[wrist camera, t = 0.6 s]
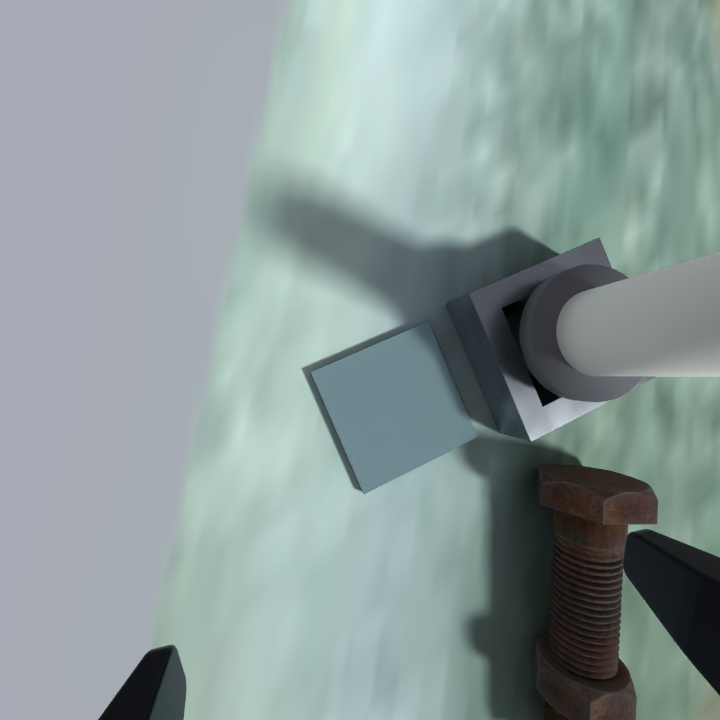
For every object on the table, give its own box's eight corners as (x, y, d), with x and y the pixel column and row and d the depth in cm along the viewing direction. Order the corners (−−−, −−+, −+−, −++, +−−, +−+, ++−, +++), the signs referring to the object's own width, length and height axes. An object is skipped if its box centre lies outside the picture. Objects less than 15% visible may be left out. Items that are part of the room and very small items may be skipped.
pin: (595, 369, 24) (946, 364, 11) (506, 414, 23) (780, 465, 10) (555, 271, 24) (865, 149, 11) (463, 311, 23) (686, 229, 10)
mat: (474, 436, 22) (477, 437, 22) (362, 492, 21) (363, 494, 21) (426, 322, 22) (428, 321, 22) (310, 372, 21) (310, 372, 21)
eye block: (611, 376, 24) (655, 377, 21) (500, 432, 23) (530, 441, 20) (561, 254, 24) (599, 237, 21) (445, 303, 22) (469, 293, 19)
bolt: (521, 702, 24) (535, 458, 25) (616, 733, 23) (631, 470, 23) (526, 796, 19) (544, 482, 19) (652, 847, 17) (670, 501, 17)
